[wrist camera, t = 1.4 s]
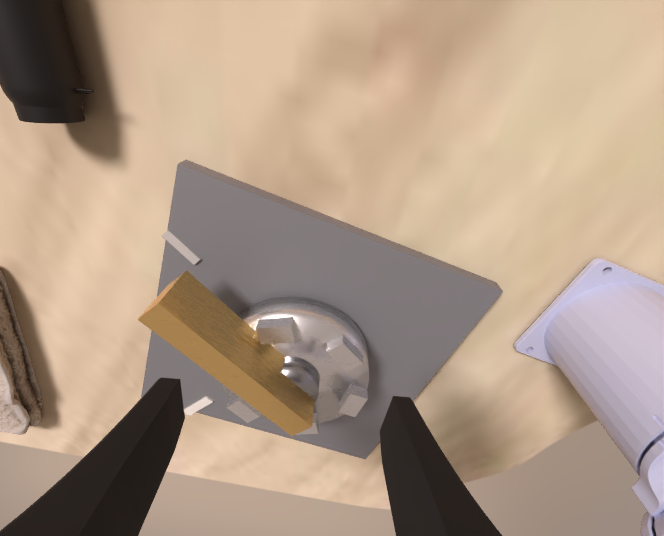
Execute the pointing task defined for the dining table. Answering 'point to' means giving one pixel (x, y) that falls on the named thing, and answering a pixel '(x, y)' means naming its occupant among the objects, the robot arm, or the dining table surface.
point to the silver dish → (268, 353)
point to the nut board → (313, 295)
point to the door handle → (39, 62)
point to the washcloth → (15, 372)
